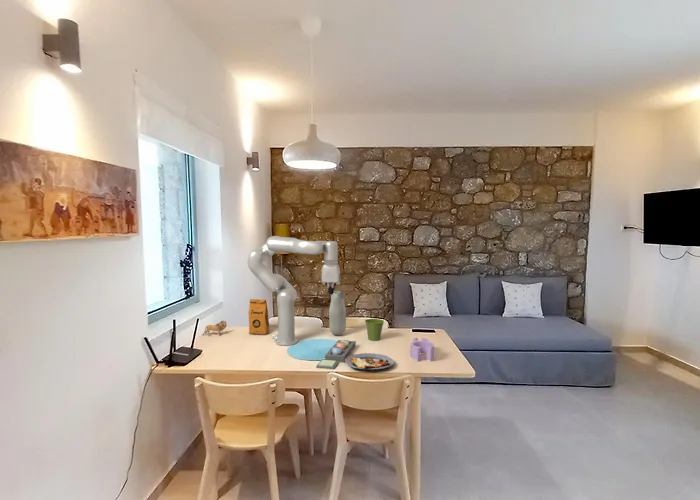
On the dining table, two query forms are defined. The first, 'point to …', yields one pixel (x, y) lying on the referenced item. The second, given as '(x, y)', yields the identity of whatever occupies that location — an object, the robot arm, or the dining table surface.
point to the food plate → (369, 361)
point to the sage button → (345, 341)
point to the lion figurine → (216, 328)
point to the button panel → (344, 352)
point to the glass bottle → (337, 313)
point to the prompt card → (327, 364)
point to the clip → (421, 349)
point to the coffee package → (258, 317)
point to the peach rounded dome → (342, 345)
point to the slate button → (337, 351)
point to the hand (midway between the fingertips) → (331, 294)
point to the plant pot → (374, 328)
